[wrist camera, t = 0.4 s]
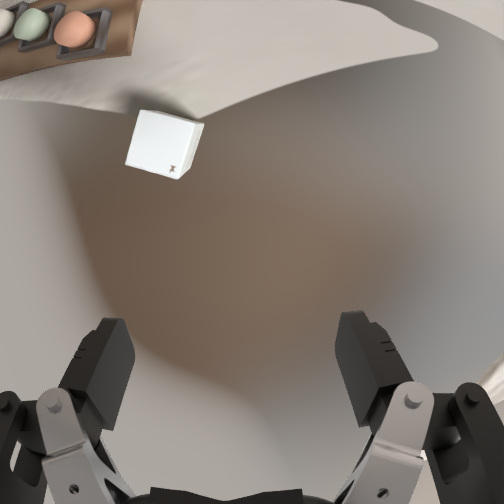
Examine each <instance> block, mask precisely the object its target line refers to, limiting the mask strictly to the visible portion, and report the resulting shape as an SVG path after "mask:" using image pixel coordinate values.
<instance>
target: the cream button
mask: <svg viewBox="0 0 504 504" xmlns="http://www.w3.org/2000/svg"><path fill="white" fill-rule="evenodd" d="M14 21H15V13H14V12H11V11H8V10H4V9H0V38H2V37H4V36H5V35H6V34H7V33H8V32H9V31H10V29H11V28H12V26H13V24H14Z"/></svg>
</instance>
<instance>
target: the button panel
mask: <svg viewBox="0 0 504 504" xmlns="http://www.w3.org/2000/svg"><path fill="white" fill-rule="evenodd" d="M141 4H142V0H38V1H36V2H33V3H30V4H29V3H27V2H24V1H23V2H20V3H18V4H16V5H14V6H12V7H10V8H8V9H5V10H8V11H11V12H14V13H15V21H14V24H13V26H12V28H11V29H10V31H9V32H8V33H7V34H6V35H5V36H4V37H2V38H0V81H3V80H6V79H9V78H12V77H15V76H19V75H22V74H26V73H30V72H33V71H37V70H41V69H46V68H50V67H54V66H59V65H64V64H70V63H75V62H81V61H87V60H94V59H102V58H111V57H121V56H131V51H132V46H133V40H134V35H135V30H136V26H137V21H138V17H139V12H140V8H141ZM30 8H35V9H38V10H41V11H43V12H46V13H48V14H49V15H50V24H49V27H48V29H47V31H46V32H45V33H44V35H43V36H42V37H40V38H39V39H38V40H36V41H27V40H23V39H18V38H16V37H15V36H14V27H15V24H16V22H17V20H18V19H19V17H20V16H21V15H22V14H23V13H24V12H25V11H26V10H28V9H30ZM73 11H79V12H82V13H83V14H85V15H87V16H89V17H91V18H92V19H94V20H95V22H96V32H95V34H94V36H93V38H92V39H91V40H90V41H89V42H88V43H87V44H86V45H85V46H83V47H81V48H77V49H73V48H70V47H67V46H64V45H60V44H58V43H57V42H56V41H55V39H54V31H55V28H56V26H57V24H58V22H59V21H60V20H61V19H62V18H63V17H64V16H65V15H67V14H68V13H70V12H73Z"/></svg>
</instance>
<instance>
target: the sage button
mask: <svg viewBox="0 0 504 504" xmlns="http://www.w3.org/2000/svg"><path fill="white" fill-rule="evenodd" d="M49 24H50V15H49V14H48V13H46V12H43V11H41V10H38V9H35V8H30V9H28V10H26V11H25V12H24V13H23V14H22V15H21V16H20V17H19V19H18V20H17V22H16V24H15V27H14V36H15V37H16V38H18V39H23V40H27V41H36V40H38V39H39V38H40V37H42V36H43V35H44V33H45V32H46V31H47V29H48V27H49Z"/></svg>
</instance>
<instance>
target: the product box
mask: <svg viewBox="0 0 504 504" xmlns="http://www.w3.org/2000/svg"><path fill="white" fill-rule="evenodd" d="M203 127H204V123H201V122H197V121H193V120H189V119H186V118H182V117H179V116H175V115H171V114H168V113H165V112H162V111H153V110H143V109H141V110H140V112H139V115H138V118H137V122H136V125H135V129H134V133H133V136H132V140H131V144H130V148H129V151H128V155H127V159H126V162H125V164H126V165H129V166H132V167H136V168H140V169H143V170H146V171H149V172H153V173H157V174H160V175H164V176H167V177H171V178H174V179H178V178H180V177H181V176H182V175H183V174H184V173H185V172H186V171H187V170H189V169H190V167H191V164H192V161H193V157H194V154H195V151H196V148H197V145H198V142H199V139H200V136H201V133H202V129H203Z"/></svg>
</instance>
